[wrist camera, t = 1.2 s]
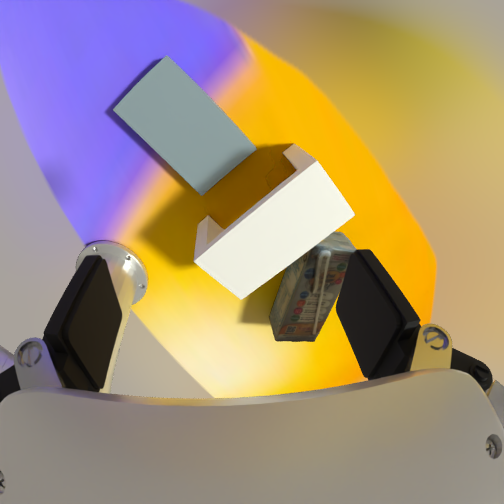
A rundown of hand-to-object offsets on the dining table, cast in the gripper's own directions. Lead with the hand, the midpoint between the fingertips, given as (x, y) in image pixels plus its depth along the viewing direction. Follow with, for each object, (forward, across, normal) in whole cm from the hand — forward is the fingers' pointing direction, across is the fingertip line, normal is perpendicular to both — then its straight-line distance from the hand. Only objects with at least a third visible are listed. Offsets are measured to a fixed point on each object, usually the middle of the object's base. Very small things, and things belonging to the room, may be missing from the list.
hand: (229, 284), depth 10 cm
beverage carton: (+28, -13, +22) cm, 37 cm away
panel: (+28, +5, -2) cm, 28 cm away
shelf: (+27, -6, +8) cm, 29 cm away
